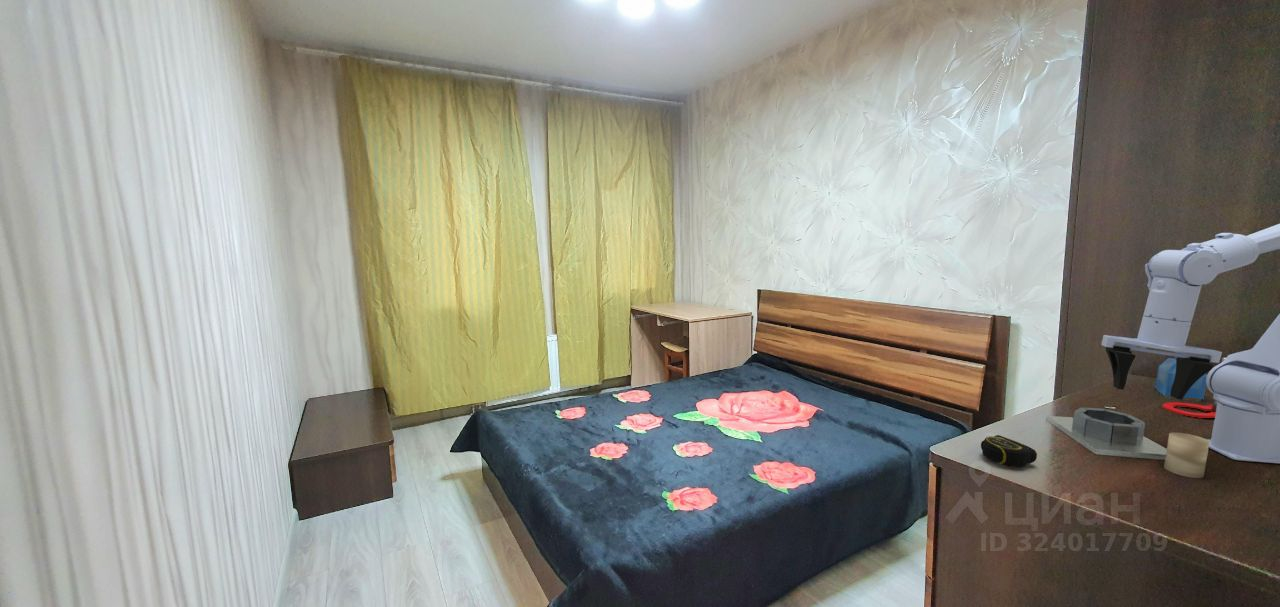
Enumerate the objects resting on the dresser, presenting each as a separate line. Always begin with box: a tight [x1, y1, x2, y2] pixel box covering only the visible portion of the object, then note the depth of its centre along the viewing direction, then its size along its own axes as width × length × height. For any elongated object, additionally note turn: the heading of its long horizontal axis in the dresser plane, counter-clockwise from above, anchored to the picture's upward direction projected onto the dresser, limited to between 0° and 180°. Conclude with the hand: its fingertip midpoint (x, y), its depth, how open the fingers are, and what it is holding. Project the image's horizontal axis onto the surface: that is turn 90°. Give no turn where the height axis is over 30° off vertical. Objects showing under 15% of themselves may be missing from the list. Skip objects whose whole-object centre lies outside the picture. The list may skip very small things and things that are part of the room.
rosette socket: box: [1045, 407, 1167, 461], centre depth 91 cm, size 12×16×4 cm
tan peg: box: [1163, 432, 1210, 479], centre depth 79 cm, size 4×4×6 cm
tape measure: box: [980, 434, 1038, 468], centre depth 84 cm, size 7×7×4 cm
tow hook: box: [1162, 357, 1227, 419], centre depth 102 cm, size 8×13×9 cm
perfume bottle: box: [1154, 352, 1208, 400], centre depth 112 cm, size 6×6×12 cm
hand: (1146, 392), depth 84 cm, fingers open, 7 cm apart
